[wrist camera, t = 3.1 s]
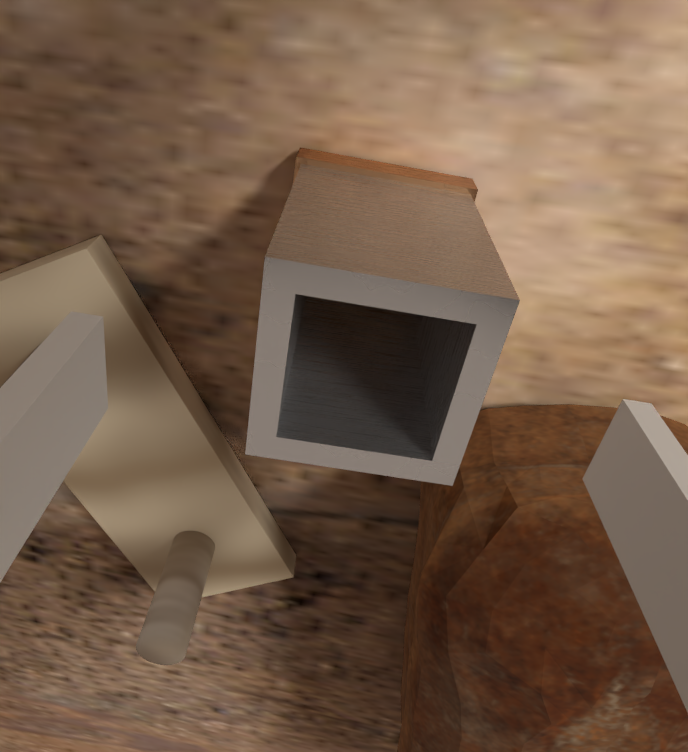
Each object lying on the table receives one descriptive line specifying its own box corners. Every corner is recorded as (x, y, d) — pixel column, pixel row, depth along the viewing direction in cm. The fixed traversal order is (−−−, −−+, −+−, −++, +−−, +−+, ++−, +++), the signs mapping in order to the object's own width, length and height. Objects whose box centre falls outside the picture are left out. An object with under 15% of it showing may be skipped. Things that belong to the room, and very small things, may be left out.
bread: (384, 705, 43) (387, 933, 32) (409, 371, 27) (432, 604, 17) (582, 713, 42) (649, 947, 32) (721, 379, 27) (936, 622, 17)
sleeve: (281, 302, 25) (237, 458, 17) (300, 145, 22) (256, 246, 14) (429, 327, 26) (457, 491, 17) (471, 177, 22) (530, 293, 14)
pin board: (-56, 295, 26) (-193, 395, 20) (101, 234, 24) (6, 323, 18) (173, 583, 36) (131, 710, 30) (296, 555, 34) (279, 684, 28)
